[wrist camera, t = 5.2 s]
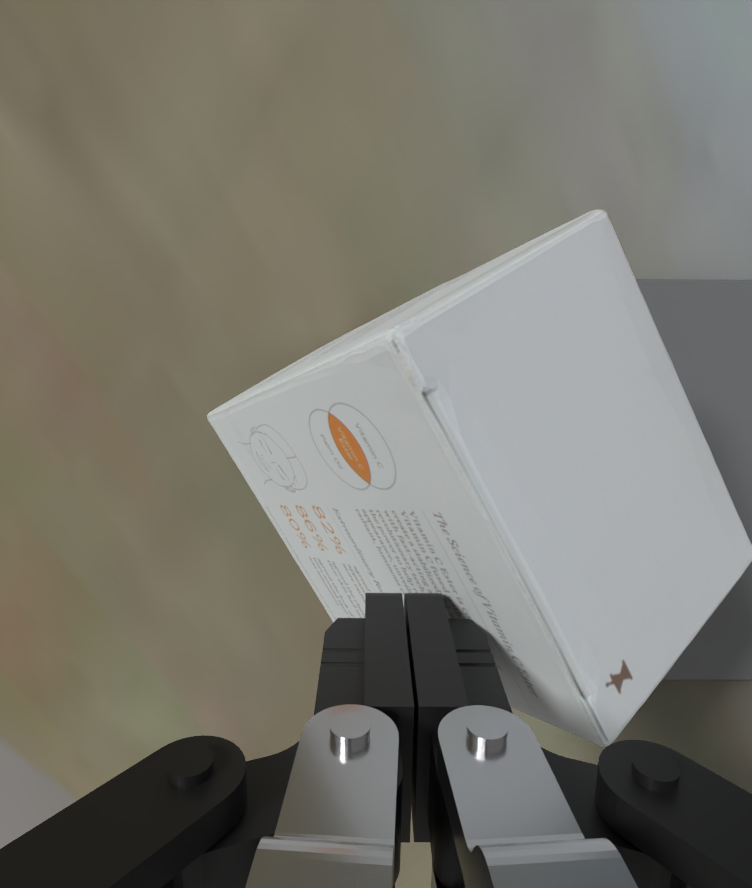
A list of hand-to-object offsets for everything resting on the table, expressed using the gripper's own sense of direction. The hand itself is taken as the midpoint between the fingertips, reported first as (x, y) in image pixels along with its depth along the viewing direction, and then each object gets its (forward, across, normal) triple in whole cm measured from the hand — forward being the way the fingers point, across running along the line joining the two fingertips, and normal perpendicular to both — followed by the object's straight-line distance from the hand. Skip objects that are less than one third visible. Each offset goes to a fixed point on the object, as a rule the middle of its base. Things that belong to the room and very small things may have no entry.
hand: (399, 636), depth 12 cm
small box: (+8, +2, -1) cm, 8 cm away
